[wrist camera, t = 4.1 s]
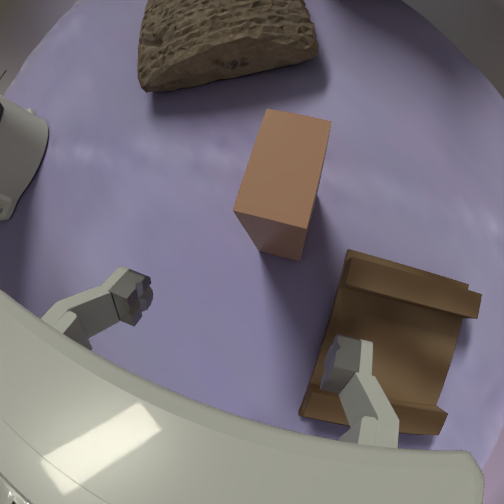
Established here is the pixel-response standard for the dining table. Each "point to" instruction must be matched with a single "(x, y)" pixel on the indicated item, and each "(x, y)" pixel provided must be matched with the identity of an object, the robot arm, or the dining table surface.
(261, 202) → the clay block
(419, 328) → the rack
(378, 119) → the dining table surface
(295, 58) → the stone tablet
